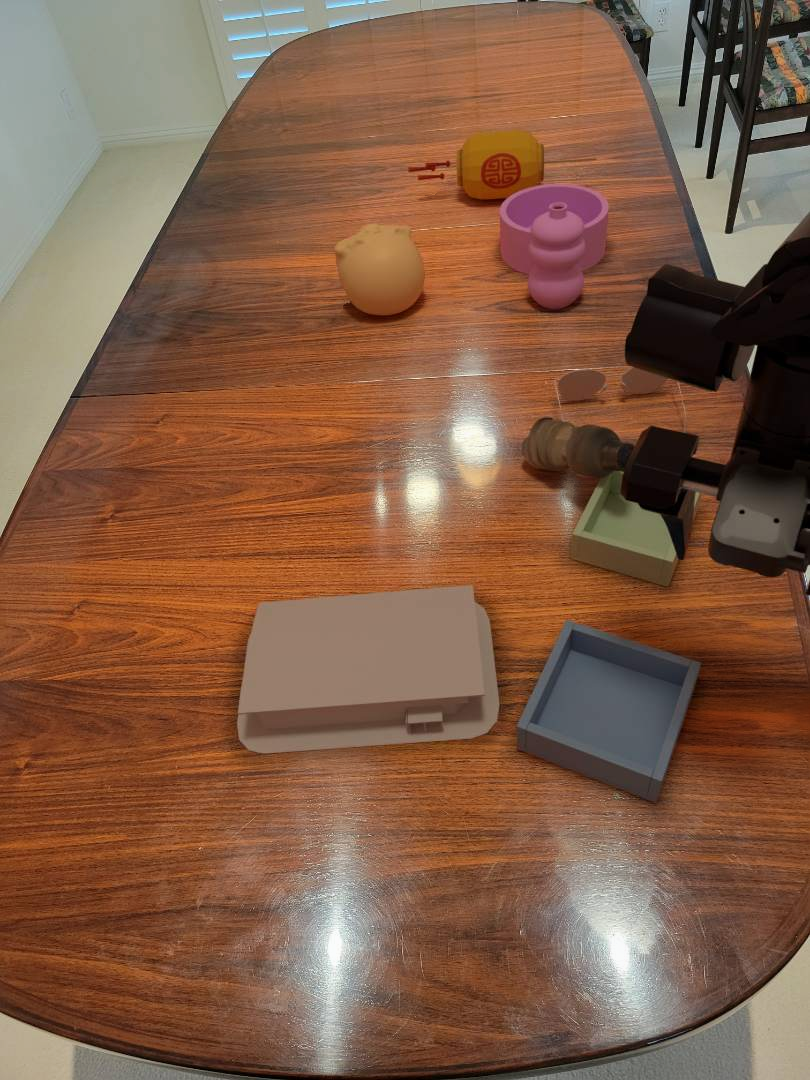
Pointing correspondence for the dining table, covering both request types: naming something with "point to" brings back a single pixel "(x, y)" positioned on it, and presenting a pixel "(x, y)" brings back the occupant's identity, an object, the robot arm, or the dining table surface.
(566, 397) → the sunglasses
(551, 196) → the container set
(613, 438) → the brown ridged cylinder
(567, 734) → the gray square bin
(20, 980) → the dining table surface
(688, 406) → the dining table surface
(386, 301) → the sculpture
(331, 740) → the book
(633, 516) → the right bin
